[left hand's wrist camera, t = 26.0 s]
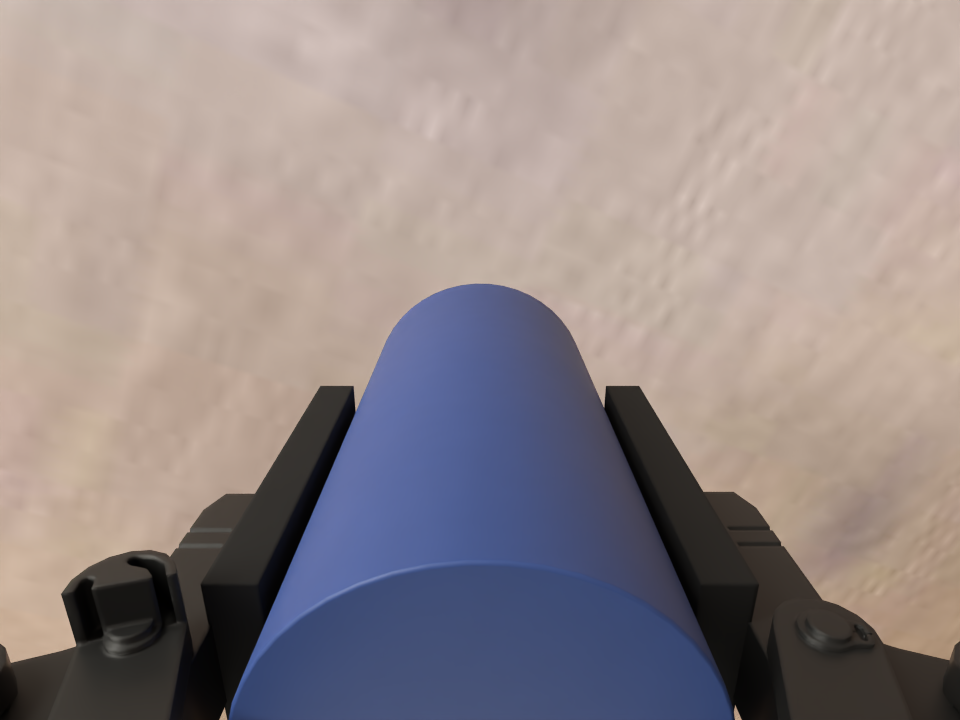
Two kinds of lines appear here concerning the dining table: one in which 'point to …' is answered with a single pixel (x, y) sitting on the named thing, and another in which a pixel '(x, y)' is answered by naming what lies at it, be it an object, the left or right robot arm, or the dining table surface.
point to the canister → (481, 546)
